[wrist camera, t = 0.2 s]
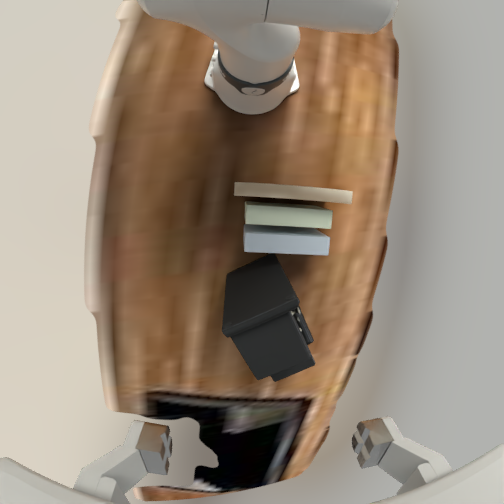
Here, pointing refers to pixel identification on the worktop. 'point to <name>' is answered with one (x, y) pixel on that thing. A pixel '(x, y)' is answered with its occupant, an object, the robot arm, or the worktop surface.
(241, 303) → the black stepped block
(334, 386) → the worktop surface
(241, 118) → the worktop surface
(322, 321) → the worktop surface
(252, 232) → the book
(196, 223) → the worktop surface
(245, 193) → the end board
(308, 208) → the book
